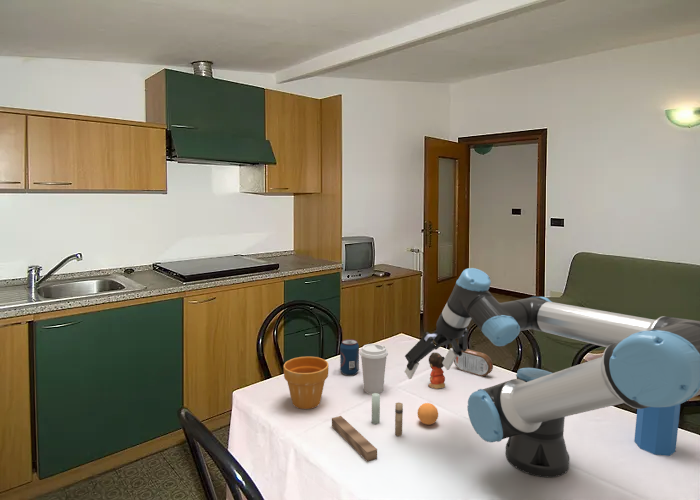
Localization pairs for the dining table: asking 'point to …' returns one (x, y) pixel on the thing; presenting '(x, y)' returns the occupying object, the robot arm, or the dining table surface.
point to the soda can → (349, 357)
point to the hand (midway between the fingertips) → (427, 370)
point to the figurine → (436, 371)
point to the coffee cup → (373, 367)
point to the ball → (427, 413)
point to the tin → (474, 362)
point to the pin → (398, 419)
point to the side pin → (375, 408)
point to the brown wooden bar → (354, 438)
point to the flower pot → (306, 380)
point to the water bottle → (657, 429)
